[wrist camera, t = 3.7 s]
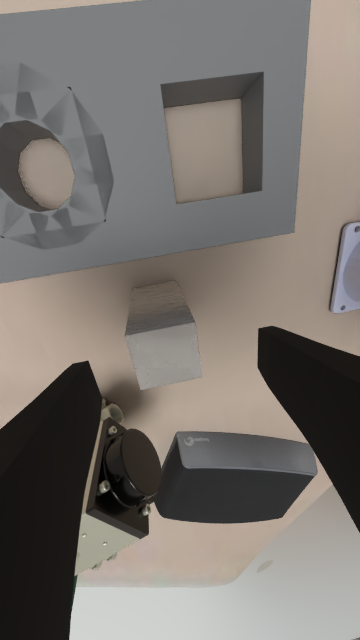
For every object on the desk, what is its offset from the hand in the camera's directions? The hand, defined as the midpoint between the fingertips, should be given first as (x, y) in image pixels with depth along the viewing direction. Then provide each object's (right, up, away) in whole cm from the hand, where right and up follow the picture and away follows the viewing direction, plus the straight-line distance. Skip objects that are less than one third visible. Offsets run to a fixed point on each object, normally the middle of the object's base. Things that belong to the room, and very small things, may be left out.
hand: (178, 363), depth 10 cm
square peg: (-2, +3, +10) cm, 10 cm away
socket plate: (-3, +12, +5) cm, 14 cm away
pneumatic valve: (-8, -8, +14) cm, 18 cm away
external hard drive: (+7, -18, +22) cm, 29 cm away
